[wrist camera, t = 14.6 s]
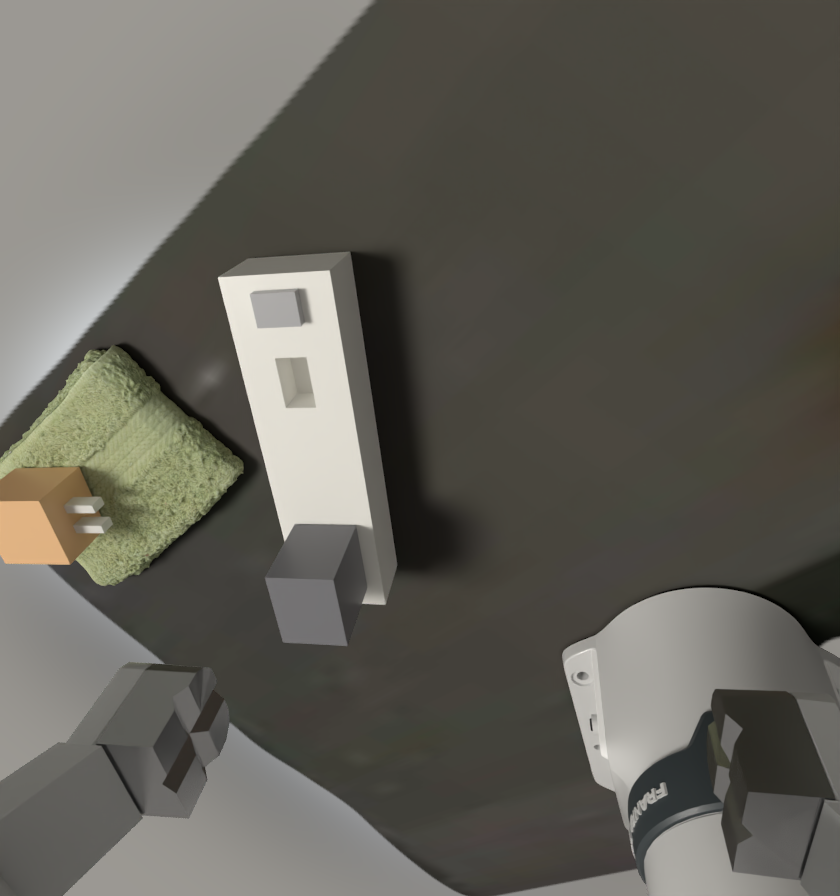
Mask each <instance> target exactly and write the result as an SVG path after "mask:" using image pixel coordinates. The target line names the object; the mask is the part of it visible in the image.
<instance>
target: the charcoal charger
mask: <svg viewBox="0 0 840 896" xmlns="http://www.w3.org/2000/svg"><path fill="white" fill-rule="evenodd" d="M265 580H266V583H267V587H268V590H269V594H270V597H271V601H272V605H273V608H274V612H275V615H276V619H277V622H278V626H279V629H280V633H281V637H282V640H283V642H286V643H304V644H322V645H340V646H348V643H349V640H350V637H351V634H352V631H353V628H354V626H355V623H356V620H357V617H358V614H359V611H360V608H361V605H362V602H363V599H364V596H365V594H366V591H367V582H366V577H365V571H364V566H363V560H362V555H361V549H360V544H359V539H358V533H357V528H356V525H304V524H294V526H293V528H292V530H291V532H290V533H289V535H288V537H287V539H286V541H285V542H284V544H283V546H282V548H281V550H280V551H279V553H278V555H277V557H276V559H275V560H274V562H273V564H272V566H271V568H270V569H269V571H268V573H267V575H266V577H265Z"/></svg>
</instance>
